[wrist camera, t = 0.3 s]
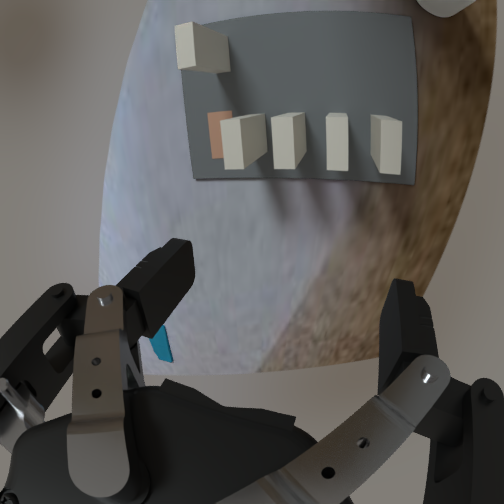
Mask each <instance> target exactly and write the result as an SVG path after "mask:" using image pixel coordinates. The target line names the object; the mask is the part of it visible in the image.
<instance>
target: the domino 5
mask: <svg viewBox="0 0 504 504" xmlns="http://www.w3.org/2000/svg"><path fill="white" fill-rule="evenodd" d="M401 153H402V121H399V120H397V119H394V118H391V117H389V116H383V115H371V151H370V154H371V156H372V158H373V160H374V162H375V164H376V166H377V168H378V170H379V172H380V173H385V174H397V175H400V172H401Z"/></svg>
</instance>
